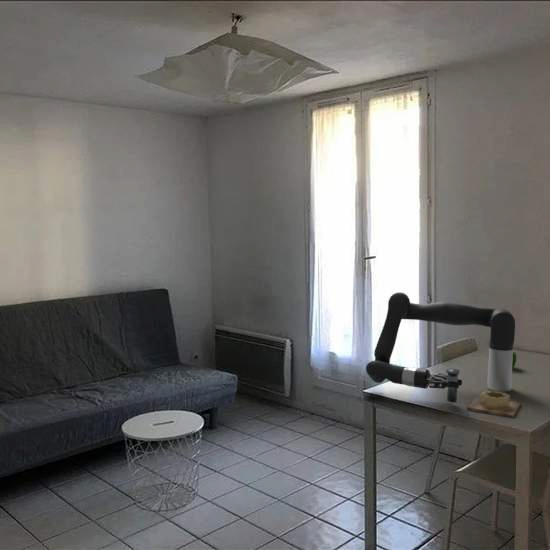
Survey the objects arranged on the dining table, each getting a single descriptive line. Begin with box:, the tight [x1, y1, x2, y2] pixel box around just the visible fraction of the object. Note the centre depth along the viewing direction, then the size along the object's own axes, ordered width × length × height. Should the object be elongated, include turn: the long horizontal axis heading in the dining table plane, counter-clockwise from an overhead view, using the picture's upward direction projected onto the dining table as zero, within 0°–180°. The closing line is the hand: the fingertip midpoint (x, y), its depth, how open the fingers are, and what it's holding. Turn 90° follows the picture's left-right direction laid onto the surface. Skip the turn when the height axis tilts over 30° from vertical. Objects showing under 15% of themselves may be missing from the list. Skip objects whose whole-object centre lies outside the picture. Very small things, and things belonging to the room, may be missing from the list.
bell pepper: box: [512, 351, 517, 370], centre depth 279 cm, size 8×8×10 cm
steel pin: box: [445, 368, 460, 403], centre depth 226 cm, size 5×5×12 cm
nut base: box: [467, 390, 522, 419], centre depth 224 cm, size 16×16×5 cm
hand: (460, 384), depth 224 cm, fingers closed on steel pin, 3 cm apart
